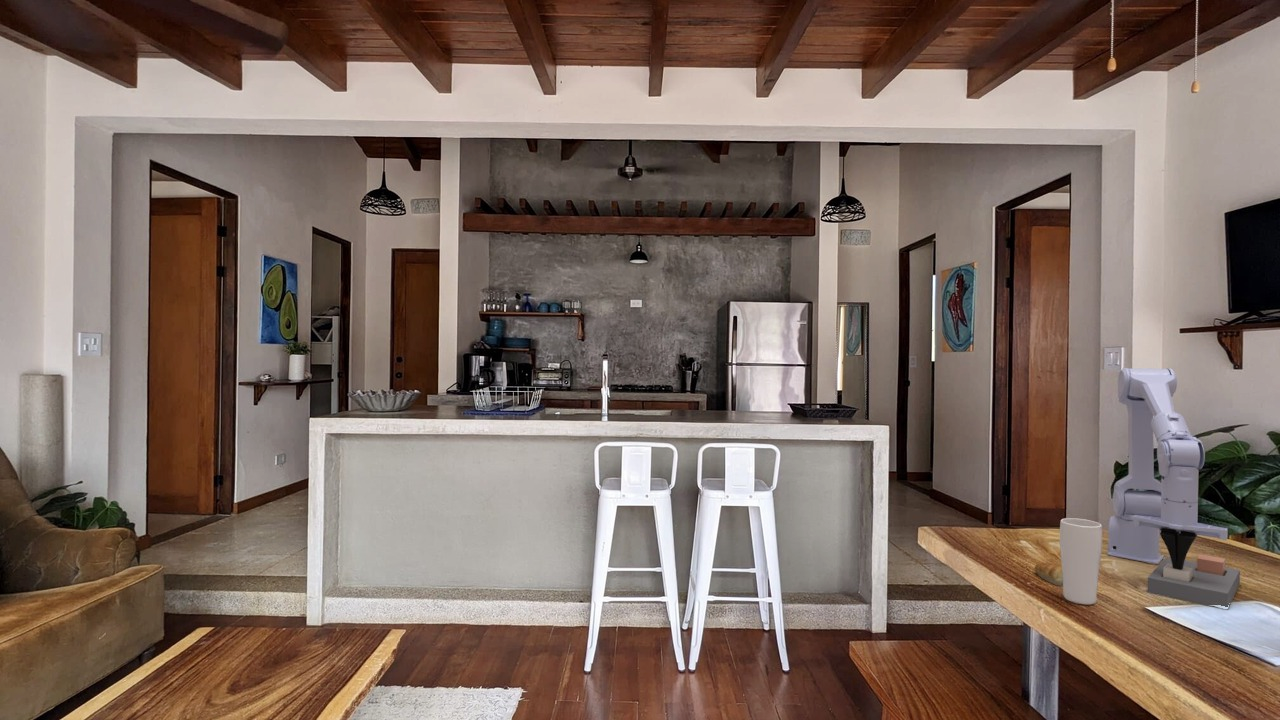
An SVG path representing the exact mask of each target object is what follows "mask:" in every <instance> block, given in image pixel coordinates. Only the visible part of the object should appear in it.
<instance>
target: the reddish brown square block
mask: <svg viewBox="0 0 1280 720" xmlns="http://www.w3.org/2000/svg"><path fill="white" fill-rule="evenodd" d="M1196 562H1197V571H1201V572H1206V573H1212V574H1217V575H1222V576H1224V574H1225V567H1226V557H1225V558H1223V557H1218V556H1212V555H1206V554H1201V553H1200V554H1199V555H1198V557H1197V558H1196Z"/></svg>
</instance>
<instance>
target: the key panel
mask: <svg viewBox="0 0 1280 720" xmlns="http://www.w3.org/2000/svg"><path fill="white" fill-rule="evenodd" d="M1159 563H1160V564H1159ZM1159 563H1158V565H1157V566H1156V568H1155V569H1154V570H1153V571H1152V572H1150V574H1149V575H1148V577H1147V588H1146V589H1147V590H1146V591H1147V594H1148V593H1149V594H1153V595H1157V596H1162V597H1165V598H1166V597H1167V598H1170V599H1176V600H1181V601H1185V602H1189V603H1194V604H1198V605H1203V606H1208V605H1221V606H1225V607H1228V605H1229V603H1232V602H1233V599H1234V597H1235V595H1236V592H1237V591H1238V589H1239V586H1240V581H1241V569H1238V568H1237V569H1236V568H1233V567H1232V568H1231V567H1226V566H1225V574H1224V576H1222V575H1217V574H1212V573H1206V572H1201V571H1197V561H1193V560H1186V559H1185V561H1184V565H1183V567H1189V568H1192V581H1191V582H1186V581H1181V580H1176V579H1171V578H1166V577H1163V568H1164V567H1165V565H1166V564H1172V561H1171V557H1170V556H1166V557H1165V558H1163V559H1162V560H1161V561H1160V562H1159Z"/></svg>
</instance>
